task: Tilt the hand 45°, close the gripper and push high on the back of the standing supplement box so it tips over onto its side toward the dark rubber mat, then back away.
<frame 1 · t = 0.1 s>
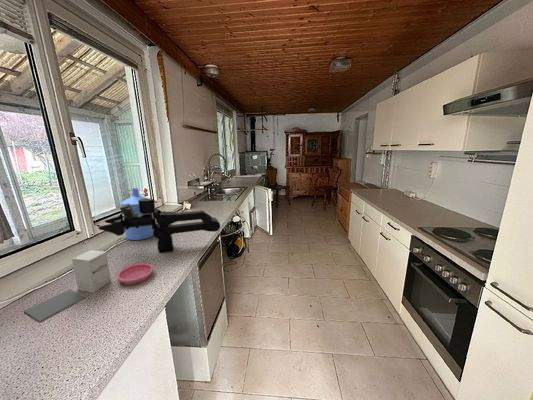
hand: (102, 224, 101), 17 cm above the worktop, tool horizontal, fingers open, 9 cm apart
saucer: (136, 278, 89), on the worktop
supplement box: (95, 285, 84), on the worktop
dark rubber mat: (56, 304, 74), on the worktop
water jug: (141, 235, 131), on the worktop
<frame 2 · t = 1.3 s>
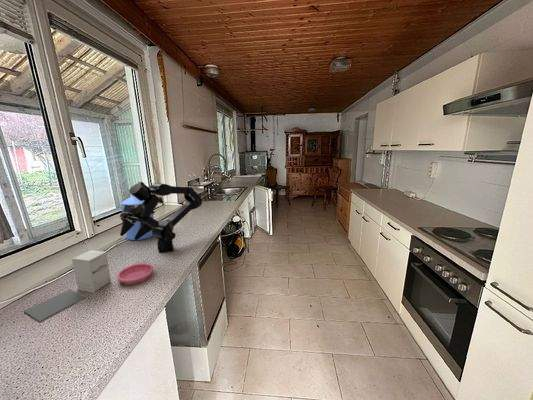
hand: (128, 237, 94), 14 cm above the worktop, tool tilted 45°, fingers open, 9 cm apart
nothing on the worktop moved.
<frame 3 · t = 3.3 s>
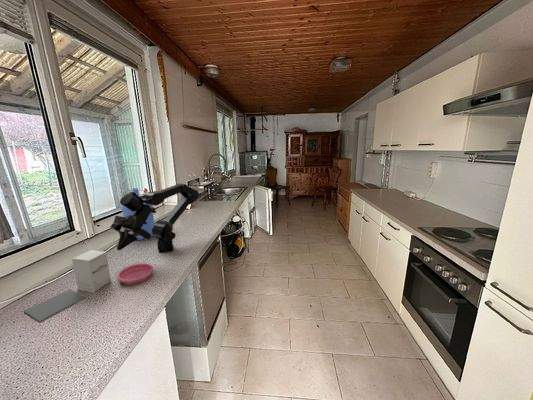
hand: (118, 249, 91), 10 cm above the worktop, tool tilted 45°, fingers closed
nothing on the worktop moved.
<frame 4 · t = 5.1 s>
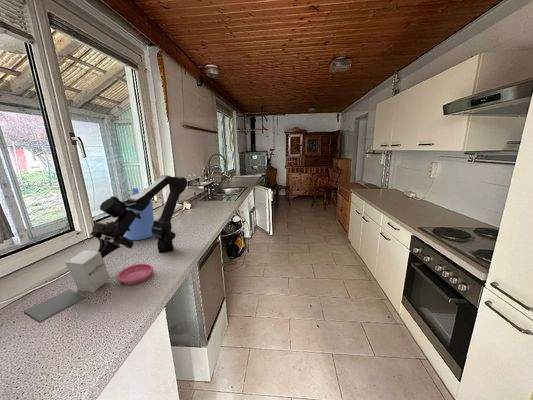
hand: (97, 259, 84), 10 cm above the worktop, tool tilted 45°, fingers closed
supplement box: (94, 284, 84), on the worktop, touching gripper
everything else where it was.
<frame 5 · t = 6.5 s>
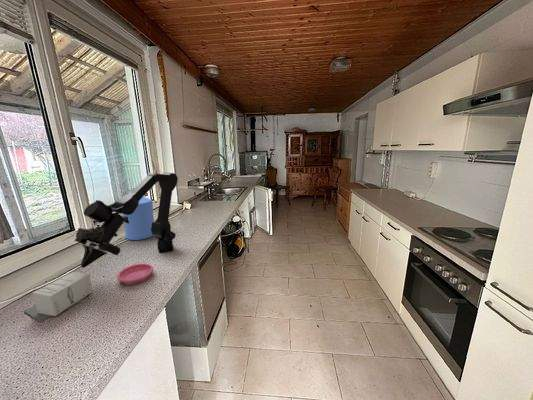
hand: (82, 267, 79), 9 cm above the worktop, tool tilted 45°, fingers closed
supplement box: (84, 280, 80), point 4 cm above the worktop, touching dark rubber mat
everything else where it was.
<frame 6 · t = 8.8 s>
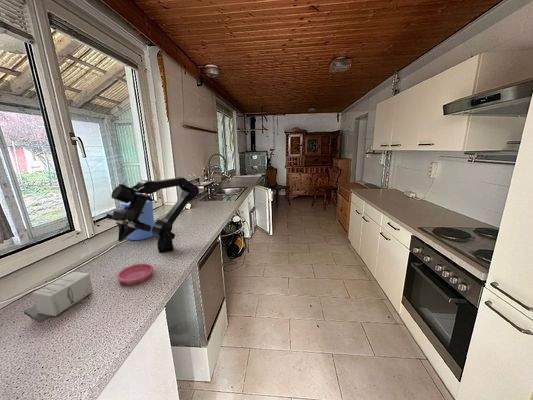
hand: (119, 241, 94), 12 cm above the worktop, tool tilted 35°, fingers closed
nothing on the worktop moved.
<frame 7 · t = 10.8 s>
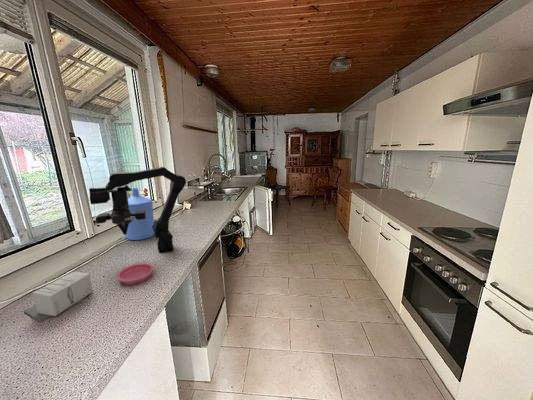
hand: (125, 234, 101), 12 cm above the worktop, tool pointing down, fingers closed
nothing on the worktop moved.
at the end: supplement box tilted 90°; supplement box 8.4 cm from the dark rubber mat (horizontally); the gripper is holding nothing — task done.
